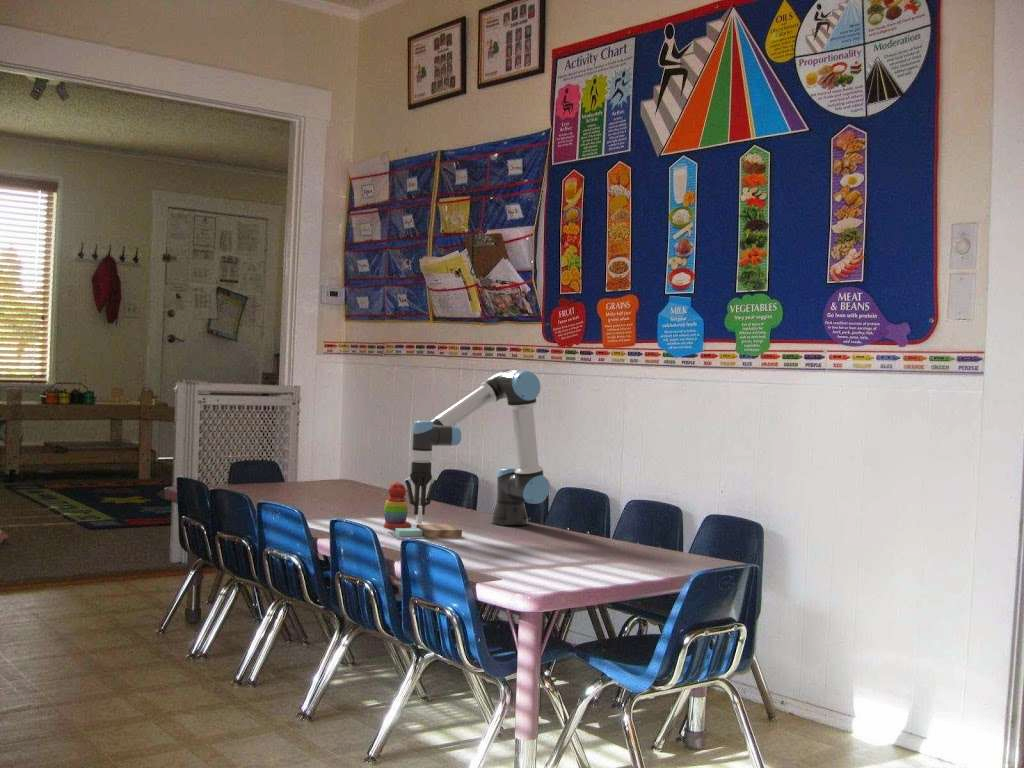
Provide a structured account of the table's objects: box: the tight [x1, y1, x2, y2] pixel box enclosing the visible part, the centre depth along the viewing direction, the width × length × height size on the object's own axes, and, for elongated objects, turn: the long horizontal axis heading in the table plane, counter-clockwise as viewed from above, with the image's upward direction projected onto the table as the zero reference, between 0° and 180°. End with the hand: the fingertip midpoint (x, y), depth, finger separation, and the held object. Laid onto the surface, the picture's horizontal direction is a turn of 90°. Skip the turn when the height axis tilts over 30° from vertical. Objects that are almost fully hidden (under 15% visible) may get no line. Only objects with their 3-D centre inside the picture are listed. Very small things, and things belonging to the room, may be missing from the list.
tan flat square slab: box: [415, 523, 463, 539], centre depth 422 cm, size 14×14×3 cm
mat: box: [387, 530, 428, 540], centre depth 417 cm, size 11×16×1 cm
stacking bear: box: [383, 481, 412, 530], centre depth 435 cm, size 11×10×18 cm
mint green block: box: [394, 527, 423, 536], centre depth 417 cm, size 9×6×2 cm, turn 110°
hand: (418, 523), depth 419 cm, fingers closed
